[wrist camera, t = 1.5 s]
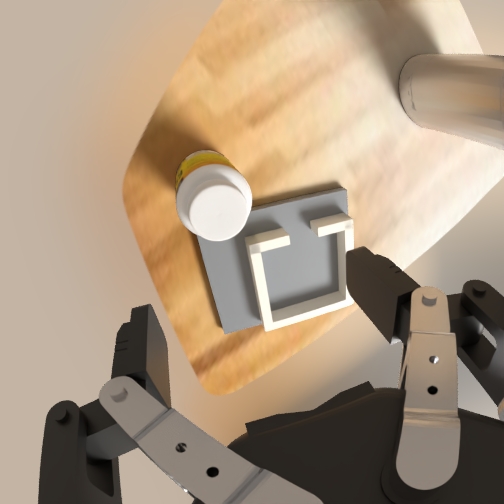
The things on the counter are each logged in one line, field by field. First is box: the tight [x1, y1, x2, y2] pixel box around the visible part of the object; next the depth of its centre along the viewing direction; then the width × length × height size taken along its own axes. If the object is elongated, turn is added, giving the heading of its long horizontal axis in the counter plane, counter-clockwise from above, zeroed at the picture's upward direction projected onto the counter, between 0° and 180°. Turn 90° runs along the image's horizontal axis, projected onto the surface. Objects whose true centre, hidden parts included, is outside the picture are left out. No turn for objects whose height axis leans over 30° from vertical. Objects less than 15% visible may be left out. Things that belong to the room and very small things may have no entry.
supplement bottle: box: [175, 150, 252, 241], centre depth 25 cm, size 6×6×10 cm
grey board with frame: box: [197, 187, 354, 334], centre depth 35 cm, size 16×14×3 cm
